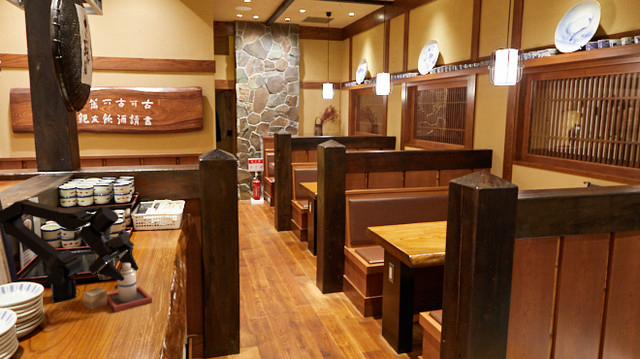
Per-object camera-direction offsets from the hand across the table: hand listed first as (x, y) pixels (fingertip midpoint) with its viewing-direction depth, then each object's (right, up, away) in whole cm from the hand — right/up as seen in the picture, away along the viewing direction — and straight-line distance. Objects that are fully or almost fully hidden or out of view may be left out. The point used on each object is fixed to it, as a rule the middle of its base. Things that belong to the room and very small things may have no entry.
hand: (130, 274), depth 142 cm
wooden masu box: (-11, -10, -1) cm, 15 cm away
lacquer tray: (-1, -9, +1) cm, 9 cm away
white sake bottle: (-2, -8, +1) cm, 9 cm away
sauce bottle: (-19, -6, +21) cm, 29 cm away
